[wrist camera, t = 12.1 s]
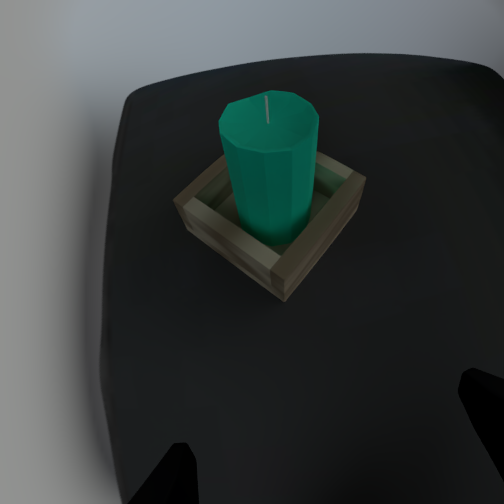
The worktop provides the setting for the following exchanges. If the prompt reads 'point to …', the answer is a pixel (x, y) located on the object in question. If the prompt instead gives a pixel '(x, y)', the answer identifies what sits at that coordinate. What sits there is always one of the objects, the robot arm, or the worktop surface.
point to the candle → (271, 163)
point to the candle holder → (250, 249)
